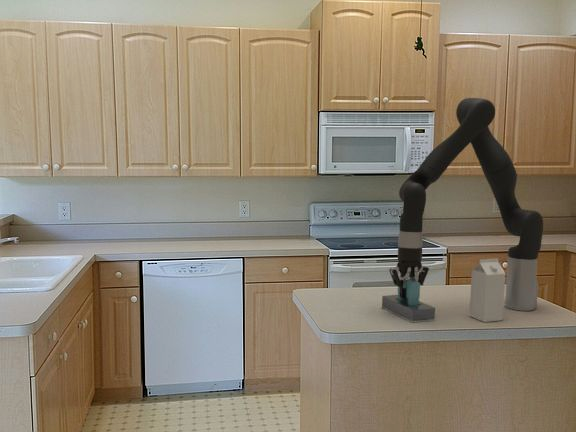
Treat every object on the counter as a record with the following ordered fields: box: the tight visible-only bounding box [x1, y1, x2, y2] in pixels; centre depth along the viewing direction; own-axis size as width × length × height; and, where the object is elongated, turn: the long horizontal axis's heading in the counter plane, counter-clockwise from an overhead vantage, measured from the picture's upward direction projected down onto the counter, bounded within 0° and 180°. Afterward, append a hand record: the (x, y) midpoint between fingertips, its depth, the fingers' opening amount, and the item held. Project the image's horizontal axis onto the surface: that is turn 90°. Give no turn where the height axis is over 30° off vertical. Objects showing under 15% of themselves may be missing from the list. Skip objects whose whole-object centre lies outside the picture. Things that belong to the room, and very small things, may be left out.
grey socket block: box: [381, 294, 436, 324], centre depth 183 cm, size 18×8×4 cm, turn 21°
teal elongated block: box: [397, 278, 421, 306], centre depth 182 cm, size 8×3×9 cm, turn 21°
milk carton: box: [469, 258, 506, 323], centre depth 178 cm, size 7×7×19 cm
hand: (408, 298), depth 183 cm, fingers closed on teal elongated block, 3 cm apart
